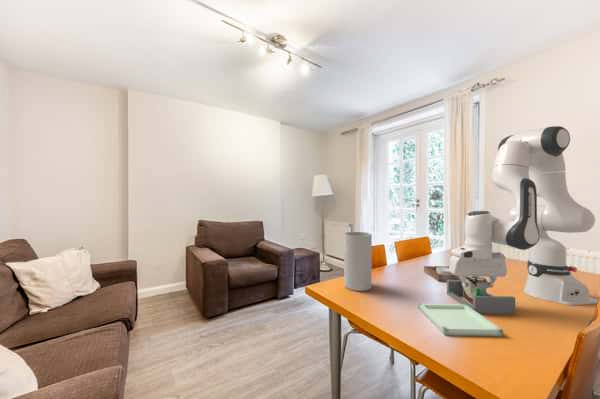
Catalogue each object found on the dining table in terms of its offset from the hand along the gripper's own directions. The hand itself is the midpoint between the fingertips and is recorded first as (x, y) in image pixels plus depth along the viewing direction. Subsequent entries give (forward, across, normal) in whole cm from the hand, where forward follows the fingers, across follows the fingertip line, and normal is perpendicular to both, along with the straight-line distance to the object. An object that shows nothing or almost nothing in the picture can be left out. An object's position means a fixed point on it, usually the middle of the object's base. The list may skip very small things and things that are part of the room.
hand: (477, 286), depth 93 cm
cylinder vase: (+7, +44, -16) cm, 47 cm away
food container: (+7, 0, 0) cm, 7 cm away
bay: (+7, 0, 0) cm, 7 cm away
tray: (+7, +17, +14) cm, 23 cm away
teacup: (+7, -4, -30) cm, 31 cm away
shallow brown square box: (+6, -6, -31) cm, 32 cm away
